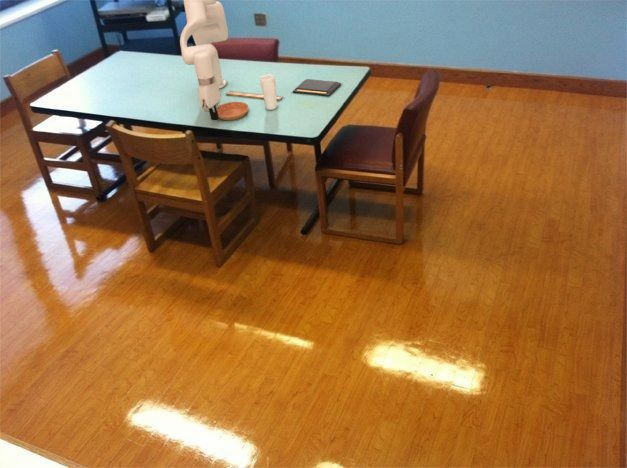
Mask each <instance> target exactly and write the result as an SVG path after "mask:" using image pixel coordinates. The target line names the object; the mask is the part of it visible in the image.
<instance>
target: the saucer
mask: <svg viewBox="0 0 627 468" xmlns="http://www.w3.org/2000/svg"><path fill="white" fill-rule="evenodd" d="M249 108H250V107H249V105H248V104H247V103H246V102H242V101H230V102H229V101H228V102H226V103H222V104H220V105H218V110H217V112H218V117H219V119H220V120H222V121H235V120H239V119H241V118H243V117H245V115H247V113H248V111H249Z"/></svg>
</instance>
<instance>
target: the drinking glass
mask: <svg viewBox="0 0 627 468" xmlns="http://www.w3.org/2000/svg"><path fill="white" fill-rule="evenodd" d="M259 82H260V88H261V92H262V94H263V96H264V99H263V100H264V105H265V109H267V110H269V111H272V110H276V109H277V108H278V103H277V102H278V101H277V99H276V96H277V85H276V78H275V75H274V74H263V75H261V76H260V77H259Z"/></svg>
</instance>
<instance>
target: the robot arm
mask: <svg viewBox="0 0 627 468" xmlns="http://www.w3.org/2000/svg"><path fill="white" fill-rule="evenodd" d="M183 6H184V11H185V17H186V25H185V26H184V27H183V29H182V31H181V34H180V38H179V45H180V52H181V57H182V61H183V62H184V64H185V65H186V66H193V65H194V71H195V75H196V80H197V84H198V87H197V93H198V101H199V105H200V108H203V112H207V113H209V116H210V120H211V121H218V120H219V119H220V118H219V117H218V112H217V110H218V106H219V104H220V103H221V99H222V98H221V97H222V96H221V92H220V89H222V88H224V87H225V86H226V85H227V80H226V79H224V78H223V73H222V68H221V64H220V58H219V53H218V50H217V48H216V47H215V46H214V45H213V43H218V42H224V41H226V40H228V38H229V28H228V23H227V18H226V13H225V9H224V6H223V4H222V2H220V1H218V0H183ZM191 36H192V38H193V42H194V45H191V46H190V45H189V46H188V40H189V38H190V37H191Z"/></svg>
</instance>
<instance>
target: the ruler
mask: <svg viewBox="0 0 627 468" xmlns="http://www.w3.org/2000/svg"><path fill="white" fill-rule="evenodd" d="M226 96H233V97H242V98H249V99H261V100H264V96H263V93H254V92H253V93H252V92H242V91H236V90H235V91H234V90H229V91H227V92H226ZM276 99H277V102H278V101H279V102H280V101H281V100H282V99H283V96H281V95H276Z"/></svg>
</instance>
